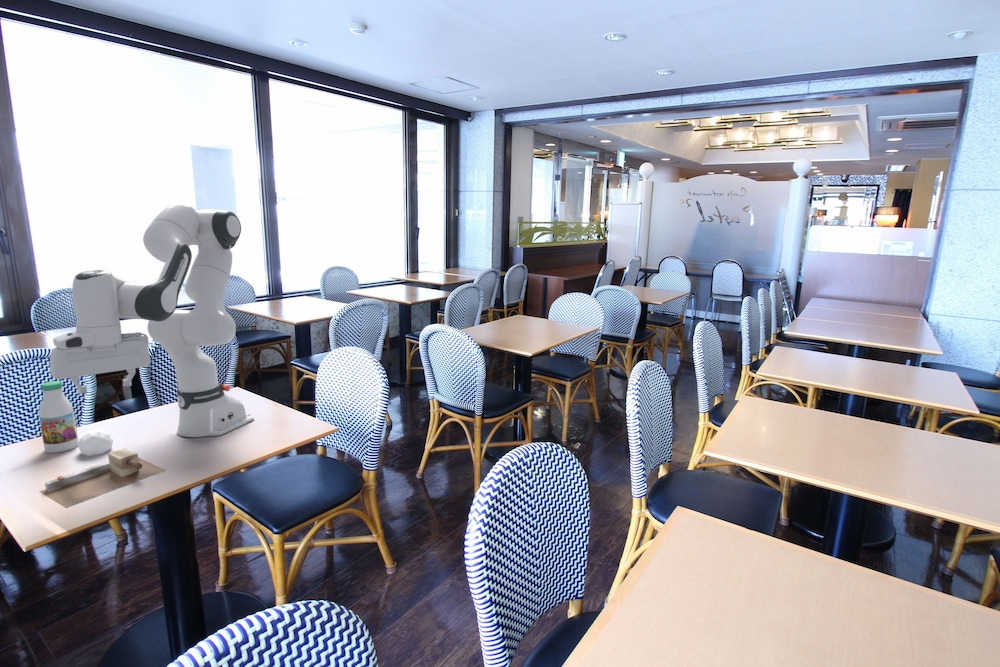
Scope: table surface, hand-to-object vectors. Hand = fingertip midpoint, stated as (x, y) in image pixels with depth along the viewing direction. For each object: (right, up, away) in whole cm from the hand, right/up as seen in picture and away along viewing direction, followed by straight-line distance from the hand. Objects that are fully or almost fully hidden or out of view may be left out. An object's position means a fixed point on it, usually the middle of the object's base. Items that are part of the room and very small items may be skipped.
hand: (105, 389), depth 133 cm
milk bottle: (-28, -20, +20) cm, 40 cm away
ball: (-15, -21, +16) cm, 30 cm away
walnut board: (0, -25, 0) cm, 24 cm away
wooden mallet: (+4, -22, +3) cm, 23 cm away
